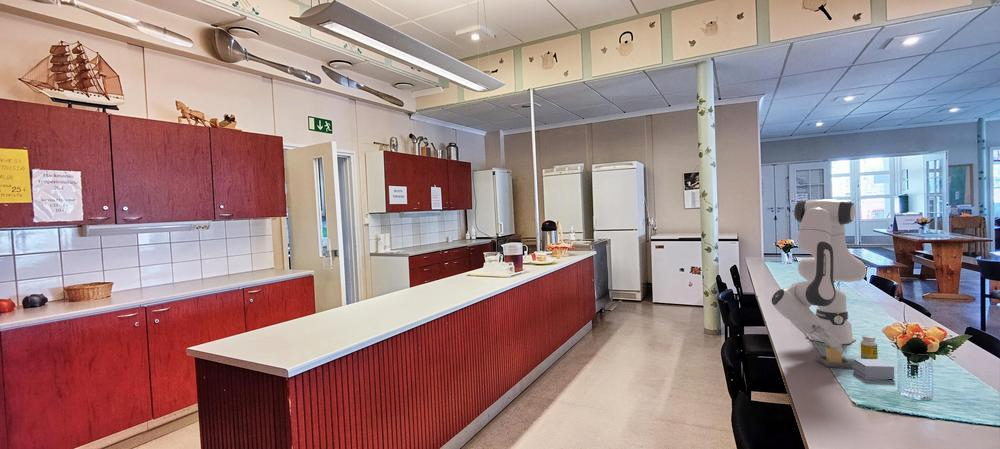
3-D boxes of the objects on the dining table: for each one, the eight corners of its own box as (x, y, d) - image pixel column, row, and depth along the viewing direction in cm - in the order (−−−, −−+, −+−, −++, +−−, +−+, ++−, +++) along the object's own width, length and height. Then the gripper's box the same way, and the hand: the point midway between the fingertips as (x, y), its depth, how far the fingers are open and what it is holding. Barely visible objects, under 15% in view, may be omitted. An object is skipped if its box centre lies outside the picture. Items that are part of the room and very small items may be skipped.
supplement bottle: (863, 356, 189) (863, 333, 189) (879, 359, 185) (879, 336, 184) (858, 359, 186) (858, 336, 186) (874, 362, 182) (874, 339, 181)
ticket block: (853, 371, 173) (853, 358, 173) (880, 372, 171) (880, 359, 171) (865, 379, 166) (865, 365, 165) (894, 380, 164) (894, 366, 164)
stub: (825, 360, 184) (825, 339, 184) (837, 361, 183) (836, 339, 183) (830, 364, 180) (830, 342, 180) (842, 364, 179) (841, 342, 179)
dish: (817, 360, 187) (816, 355, 187) (840, 360, 185) (840, 356, 185) (827, 367, 178) (827, 362, 178) (852, 368, 177) (852, 363, 177)
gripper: (826, 324, 172) (856, 349, 171) (802, 311, 192) (828, 334, 191) (814, 335, 174) (843, 361, 172) (791, 322, 194) (817, 344, 192)
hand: (835, 347), depth 181 cm, fingers open, 8 cm apart
